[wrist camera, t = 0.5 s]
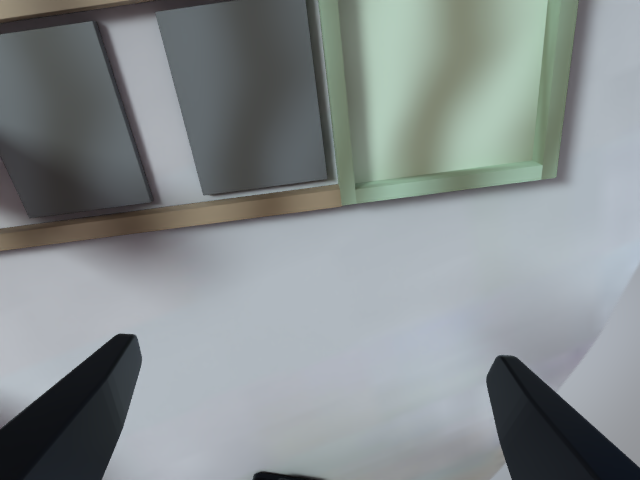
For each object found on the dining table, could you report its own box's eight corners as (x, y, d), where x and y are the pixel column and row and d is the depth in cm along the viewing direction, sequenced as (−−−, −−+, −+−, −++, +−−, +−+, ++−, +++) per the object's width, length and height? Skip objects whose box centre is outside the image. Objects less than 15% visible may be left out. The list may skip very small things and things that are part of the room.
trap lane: (-62, 253, 24) (-83, 264, 22) (-197, 26, 19) (-234, 23, 17) (541, 174, 23) (555, 181, 21) (570, -87, 18) (591, -98, 16)
